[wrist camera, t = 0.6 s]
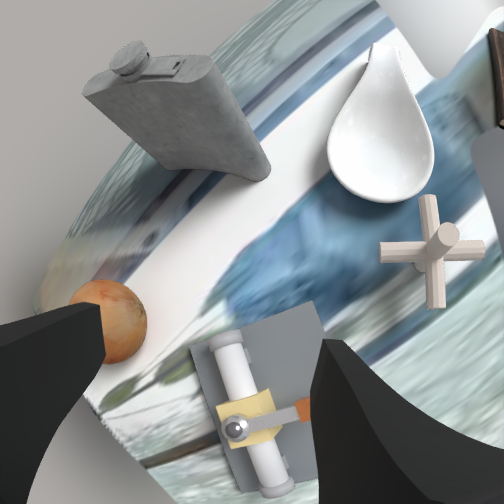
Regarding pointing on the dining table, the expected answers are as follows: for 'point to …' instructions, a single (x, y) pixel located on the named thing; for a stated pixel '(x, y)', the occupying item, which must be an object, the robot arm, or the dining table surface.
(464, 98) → the dining table surface
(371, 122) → the spoon rest
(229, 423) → the valve lever
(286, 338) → the board
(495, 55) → the hardcover book
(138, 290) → the dining table surface
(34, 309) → the dining table surface
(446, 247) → the pipe connector
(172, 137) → the hip flask
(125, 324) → the onion
